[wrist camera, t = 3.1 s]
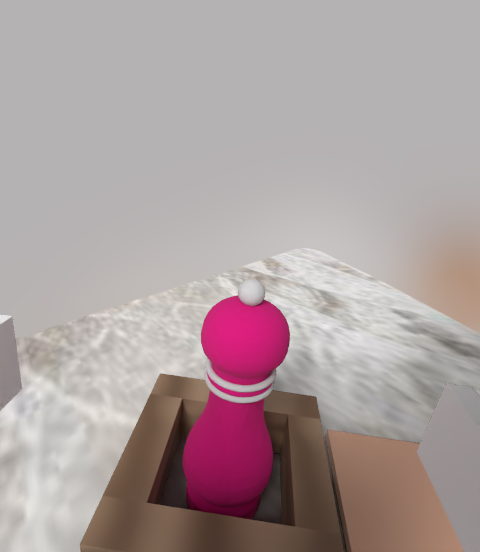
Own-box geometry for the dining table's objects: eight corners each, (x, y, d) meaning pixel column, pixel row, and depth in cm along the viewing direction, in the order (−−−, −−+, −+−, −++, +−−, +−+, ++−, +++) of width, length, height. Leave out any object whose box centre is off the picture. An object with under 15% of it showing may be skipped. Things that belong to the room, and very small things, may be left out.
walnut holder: (306, 433, 37) (316, 396, 35) (331, 635, 22) (350, 589, 20) (158, 411, 37) (160, 373, 35) (84, 592, 22) (80, 544, 20)
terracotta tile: (478, 460, 36) (481, 453, 36) (624, 684, 21) (632, 677, 21) (325, 436, 36) (327, 429, 36) (363, 640, 22) (367, 632, 21)
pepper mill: (164, 482, 30) (175, 267, 22) (231, 445, 34) (258, 255, 27) (210, 561, 25) (245, 318, 17) (282, 505, 29) (334, 292, 22)
